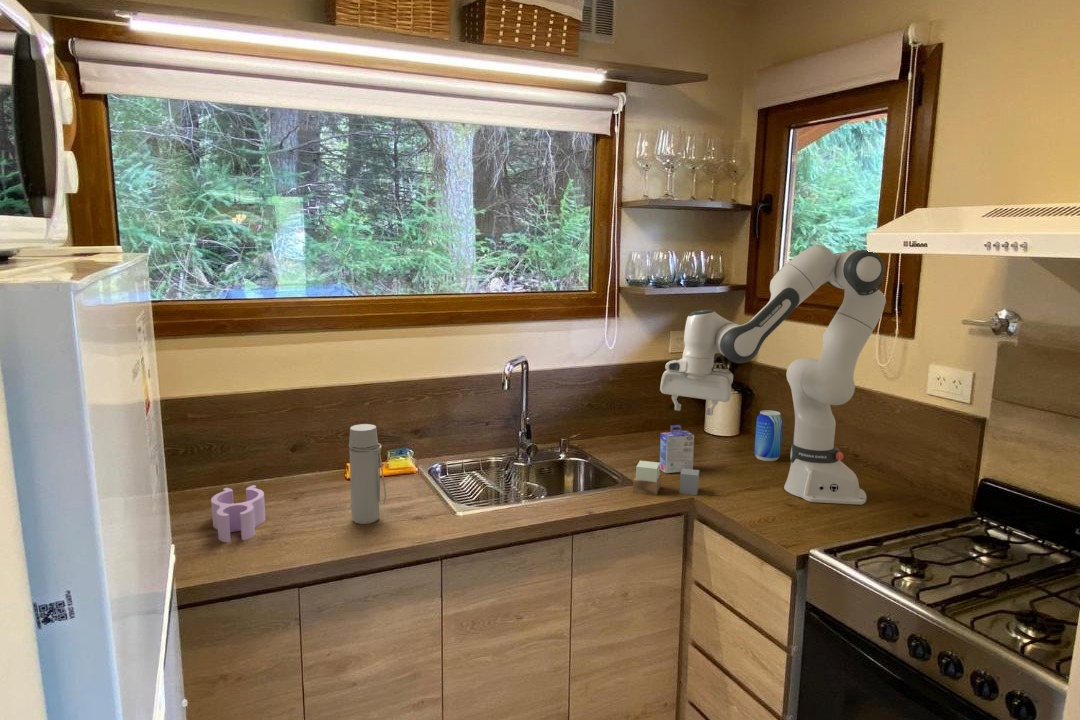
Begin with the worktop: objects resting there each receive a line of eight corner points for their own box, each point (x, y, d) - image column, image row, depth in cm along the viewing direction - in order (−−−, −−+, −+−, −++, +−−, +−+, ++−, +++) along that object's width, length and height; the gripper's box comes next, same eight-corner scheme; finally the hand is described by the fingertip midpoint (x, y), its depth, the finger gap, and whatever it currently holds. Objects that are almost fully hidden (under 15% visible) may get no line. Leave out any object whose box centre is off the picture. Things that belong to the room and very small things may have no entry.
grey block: (698, 489, 209) (699, 470, 208) (696, 495, 204) (697, 475, 203) (681, 487, 210) (682, 468, 209) (679, 493, 206) (680, 473, 204)
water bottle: (346, 525, 180) (342, 430, 175) (358, 513, 187) (355, 422, 183) (380, 527, 178) (378, 432, 174) (391, 515, 186) (389, 424, 182)
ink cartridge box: (685, 466, 230) (687, 423, 227) (693, 471, 224) (696, 427, 222) (658, 468, 227) (659, 425, 224) (665, 474, 222) (667, 429, 219)
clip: (263, 538, 172) (261, 512, 170) (207, 545, 167) (205, 518, 166) (266, 508, 190) (264, 484, 189) (216, 513, 186) (214, 489, 185)
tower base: (660, 487, 210) (660, 475, 209) (656, 496, 203) (657, 482, 203) (636, 485, 212) (637, 472, 211) (632, 493, 206) (633, 480, 205)
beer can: (748, 456, 241) (751, 410, 238) (767, 453, 245) (770, 408, 242) (766, 463, 234) (769, 416, 231) (785, 460, 237) (788, 414, 234)
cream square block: (659, 475, 209) (660, 462, 208) (656, 482, 203) (656, 468, 203) (639, 473, 211) (639, 460, 210) (635, 479, 205) (636, 466, 205)
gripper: (736, 368, 201) (731, 415, 203) (666, 360, 209) (662, 405, 212) (731, 371, 195) (727, 420, 197) (660, 363, 204) (656, 409, 206)
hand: (693, 412), depth 205 cm, fingers open, 8 cm apart
